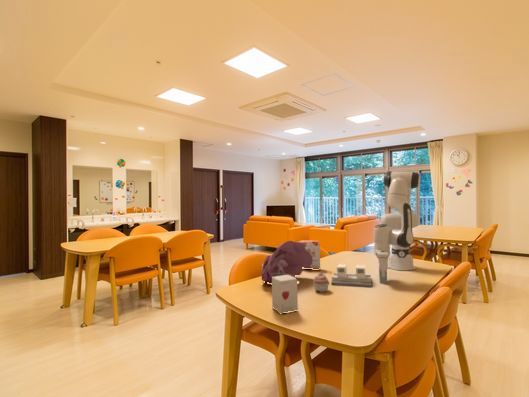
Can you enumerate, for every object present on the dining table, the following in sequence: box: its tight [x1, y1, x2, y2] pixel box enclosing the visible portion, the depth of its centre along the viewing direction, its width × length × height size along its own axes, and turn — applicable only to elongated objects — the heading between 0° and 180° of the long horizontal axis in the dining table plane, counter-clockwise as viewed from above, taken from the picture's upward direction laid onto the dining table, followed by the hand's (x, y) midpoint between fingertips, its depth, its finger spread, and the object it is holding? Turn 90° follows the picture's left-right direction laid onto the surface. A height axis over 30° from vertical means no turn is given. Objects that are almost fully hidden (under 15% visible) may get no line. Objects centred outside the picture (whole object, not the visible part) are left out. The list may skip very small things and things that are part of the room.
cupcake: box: [312, 272, 331, 293], centre depth 158 cm, size 9×9×10 cm
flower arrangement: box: [260, 240, 313, 284], centre depth 176 cm, size 35×24×28 cm
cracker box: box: [298, 239, 321, 269], centre depth 208 cm, size 14×6×21 cm, turn 68°
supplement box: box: [271, 275, 299, 313], centre depth 132 cm, size 9×9×15 cm
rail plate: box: [330, 263, 372, 288], centre depth 173 cm, size 19×22×9 cm
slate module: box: [378, 265, 388, 285], centre depth 170 cm, size 6×4×9 cm, turn 161°
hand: (383, 275), depth 170 cm, fingers open, 6 cm apart
